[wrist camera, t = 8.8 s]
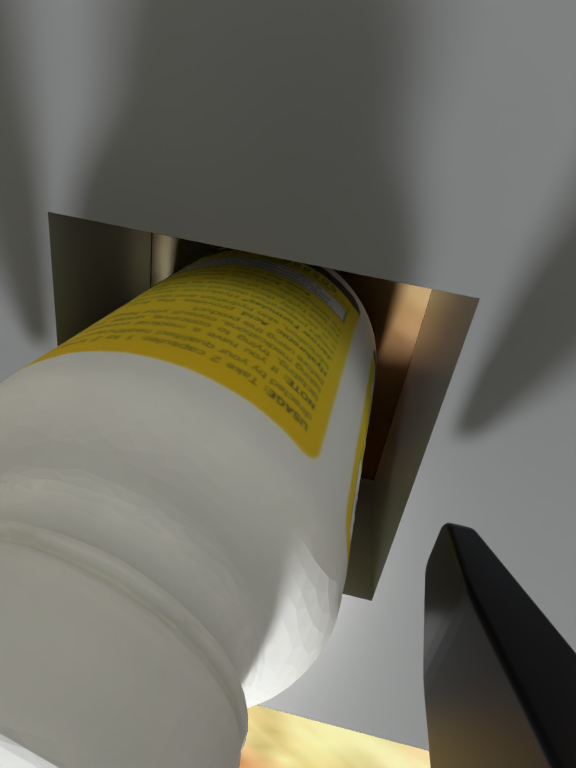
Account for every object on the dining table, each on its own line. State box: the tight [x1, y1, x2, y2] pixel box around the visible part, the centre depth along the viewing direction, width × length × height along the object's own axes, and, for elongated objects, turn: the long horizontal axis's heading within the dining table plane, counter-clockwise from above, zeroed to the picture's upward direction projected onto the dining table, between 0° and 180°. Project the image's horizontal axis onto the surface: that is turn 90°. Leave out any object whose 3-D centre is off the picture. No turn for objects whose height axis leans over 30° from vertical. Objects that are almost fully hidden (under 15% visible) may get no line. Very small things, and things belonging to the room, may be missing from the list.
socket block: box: [0, 0, 576, 751], centre depth 11 cm, size 16×16×4 cm
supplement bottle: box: [0, 247, 376, 768], centre depth 8 cm, size 5×5×10 cm
